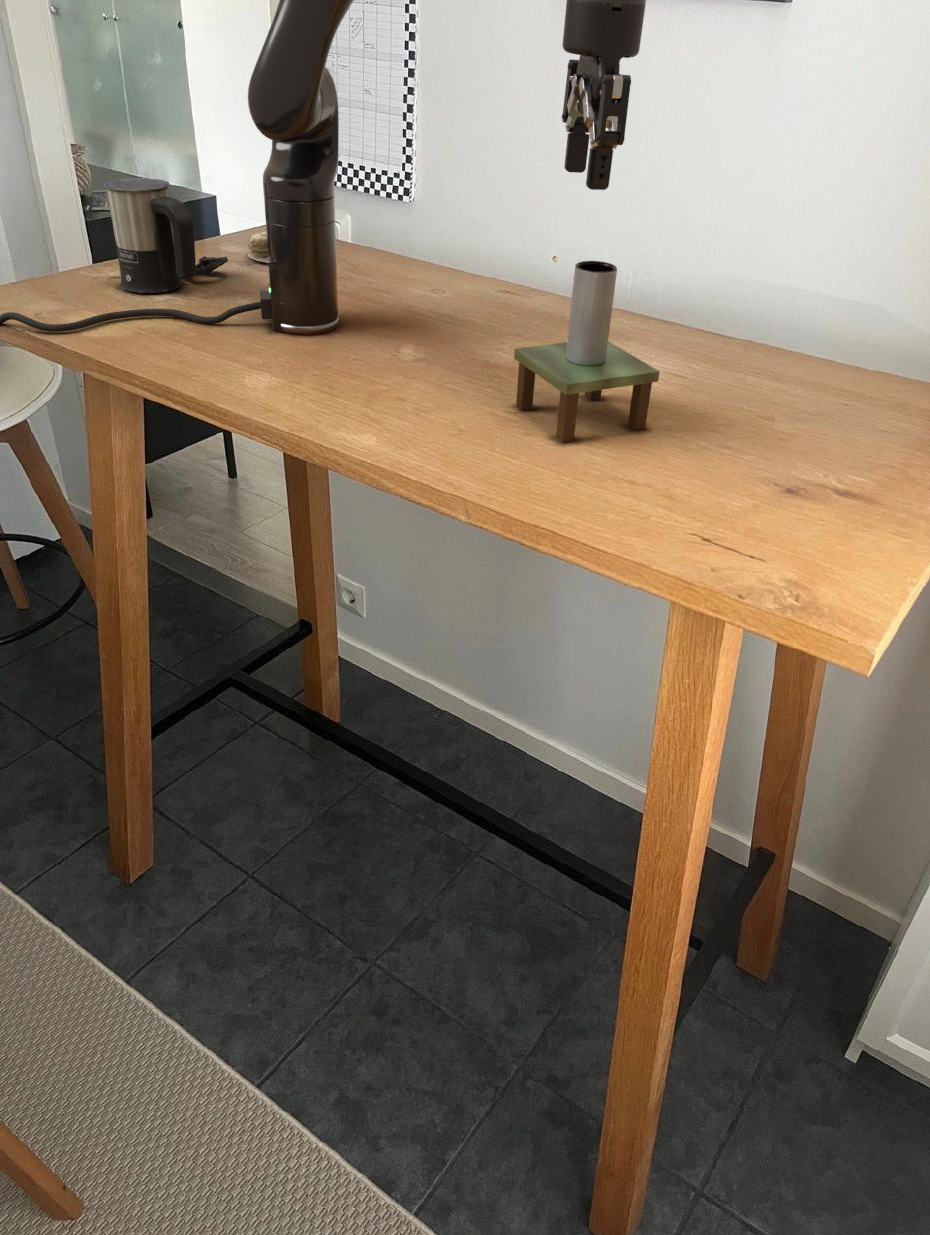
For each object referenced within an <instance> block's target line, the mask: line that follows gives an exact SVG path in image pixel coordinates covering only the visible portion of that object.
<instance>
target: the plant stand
mask: <svg viewBox="0 0 930 1235" xmlns="http://www.w3.org/2000/svg"><path fill="white" fill-rule="evenodd" d="M566 351H567V341H566V342H565V341H564V342H557V343H549V344H541V345H533V346H526V347H517V348H514V355H513V358H514V360H516V361H517V362H518V373H517V386H516V387H517V388H516V401H515V407H516V409H519V411H521V412H524V411H531V410H533V405H534V394H535V381H536V375H537V376H538V377H540V378H541V379H542V380H544V381H545V382H547V383H548V384H550V385H551V386H553V387H554V388H555V389H557V390H558V391H559V392H560V393H559V401H558V402H559V403H558V412H557V421H556V432H555V438H556V440H558V441H559V442H561V443H569V442H574V441H575V434H576V426H577V425H576V424H577V416H578V406H579V396H580V394H582V393H583V394H584V397H585V398H586V399H588V400H589V401H597V400H601V399H602V393H603V392H602V391H603V390H610V389H616V388H617V389H618V388H623V387H624V388H625V387H631V386H632V391H631V399H630V405H629V411H628V412H629V413H628V419H627V427H629V428H630V429H632V430H633V431H639V430H640V431H641V430H645V429H646V424H647V418H648V412H649V406H650V400H651V393H652V386H653V383H657V382H659V380H660V379H659V378H660V373H661V371H660V370H658V369H657V368H655V367H653V366H652V365H650V364H648V363H646V362H645V361H643V360H641V359H639V358H638V357H636V356H634V355H633V354H631V353H629V352H627V351H626V350H624V349H623V348H621V347H619V346H617V345H615V343H612V342H610V341H609V340H608V346H607V354H606V360H605V362H604V363H602V364H599V365H591V366H588V365H579V364H575V363H572V362H570V361H569V360H568V359H567V358H566Z"/></svg>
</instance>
